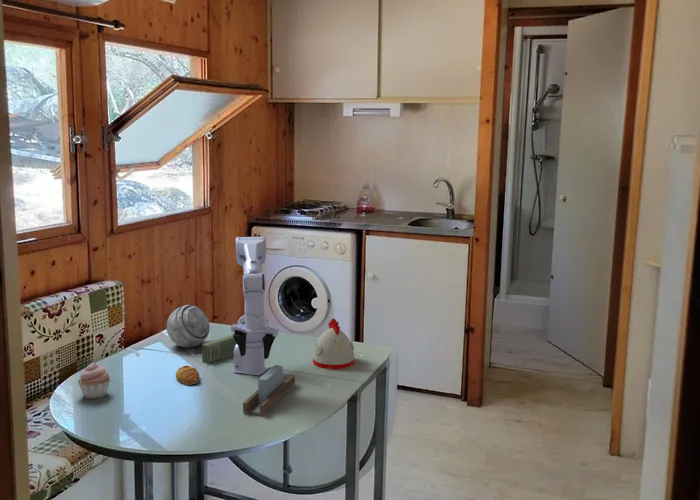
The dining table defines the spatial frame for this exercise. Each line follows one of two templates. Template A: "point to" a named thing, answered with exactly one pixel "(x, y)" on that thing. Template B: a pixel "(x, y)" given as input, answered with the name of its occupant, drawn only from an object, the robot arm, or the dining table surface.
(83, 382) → the cupcake
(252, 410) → the floor track
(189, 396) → the dining table surface
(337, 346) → the kitchen timer
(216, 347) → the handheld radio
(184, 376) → the pastry
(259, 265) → the robot arm
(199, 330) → the decorative orb
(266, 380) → the door panel
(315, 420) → the dining table surface
